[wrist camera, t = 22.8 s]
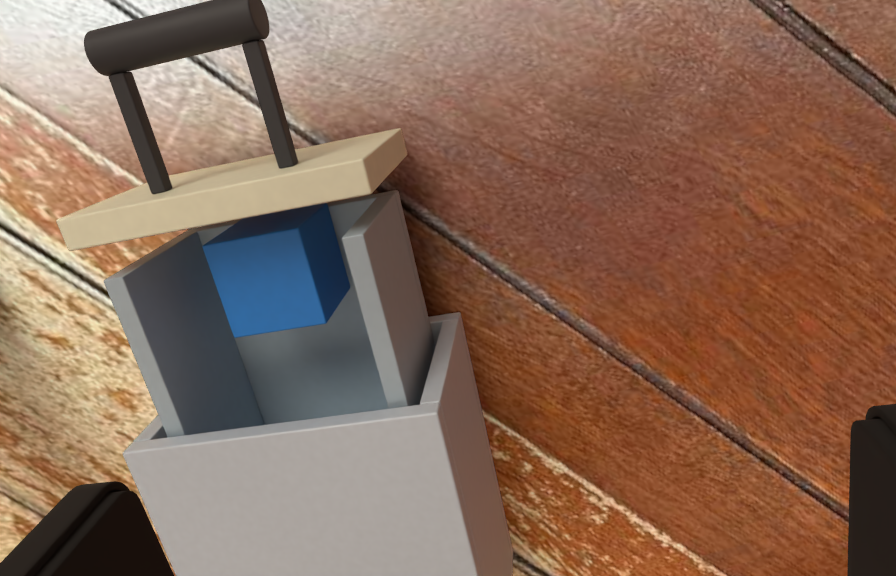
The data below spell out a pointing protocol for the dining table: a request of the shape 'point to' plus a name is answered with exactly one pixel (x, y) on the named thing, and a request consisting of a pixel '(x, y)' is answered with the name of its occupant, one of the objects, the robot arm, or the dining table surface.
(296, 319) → the blue toy cube
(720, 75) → the dining table surface
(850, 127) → the dining table surface
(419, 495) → the gray box
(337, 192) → the drawer
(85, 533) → the robot arm
